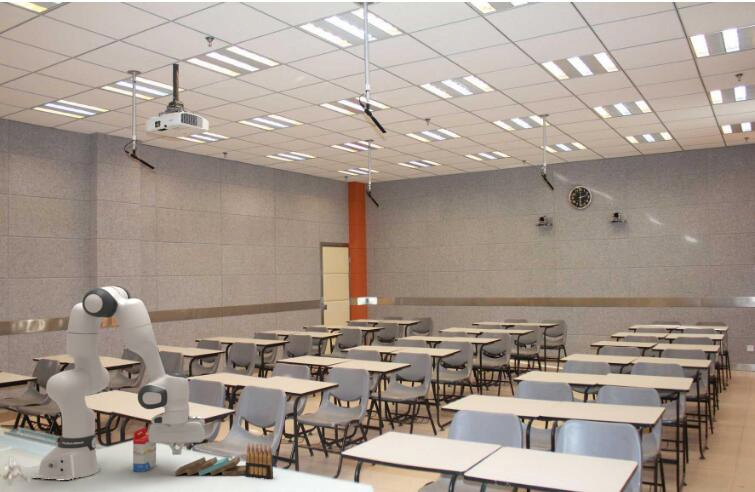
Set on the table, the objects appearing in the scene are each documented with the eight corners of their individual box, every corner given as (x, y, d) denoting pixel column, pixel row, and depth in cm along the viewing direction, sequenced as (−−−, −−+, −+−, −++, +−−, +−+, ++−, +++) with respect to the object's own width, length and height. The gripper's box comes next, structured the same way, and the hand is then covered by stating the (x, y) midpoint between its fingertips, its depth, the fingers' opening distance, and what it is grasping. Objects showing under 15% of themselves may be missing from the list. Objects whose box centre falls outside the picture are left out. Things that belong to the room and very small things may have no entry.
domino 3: (198, 471, 231) (223, 461, 231) (203, 466, 237) (227, 456, 237) (199, 476, 231) (225, 465, 231) (204, 470, 237) (229, 460, 237)
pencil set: (245, 476, 230) (245, 443, 231) (247, 475, 232) (247, 442, 233) (270, 479, 227) (270, 446, 227) (273, 478, 228) (273, 444, 229)
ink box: (144, 472, 237) (144, 432, 237) (132, 471, 238) (132, 432, 238) (156, 465, 245) (156, 427, 246) (145, 464, 246) (145, 426, 247)
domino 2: (186, 472, 231) (211, 461, 231) (191, 466, 237) (216, 456, 237) (188, 476, 231) (213, 465, 231) (193, 470, 237) (217, 460, 237)
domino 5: (222, 471, 231) (249, 469, 231) (226, 466, 237) (252, 464, 237) (222, 475, 231) (249, 474, 231) (226, 470, 237) (252, 469, 237)
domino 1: (174, 472, 232) (199, 461, 232) (180, 467, 238) (204, 456, 238) (176, 476, 231) (201, 465, 231) (181, 471, 237) (206, 460, 237)
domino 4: (209, 471, 231) (235, 461, 231) (214, 466, 237) (238, 456, 237) (211, 475, 231) (236, 465, 231) (216, 470, 237) (240, 460, 237)
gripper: (207, 414, 238) (207, 451, 238) (153, 415, 238) (152, 452, 238) (202, 418, 232) (202, 456, 231) (146, 419, 232) (146, 457, 231)
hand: (176, 454), depth 235 cm, fingers closed
